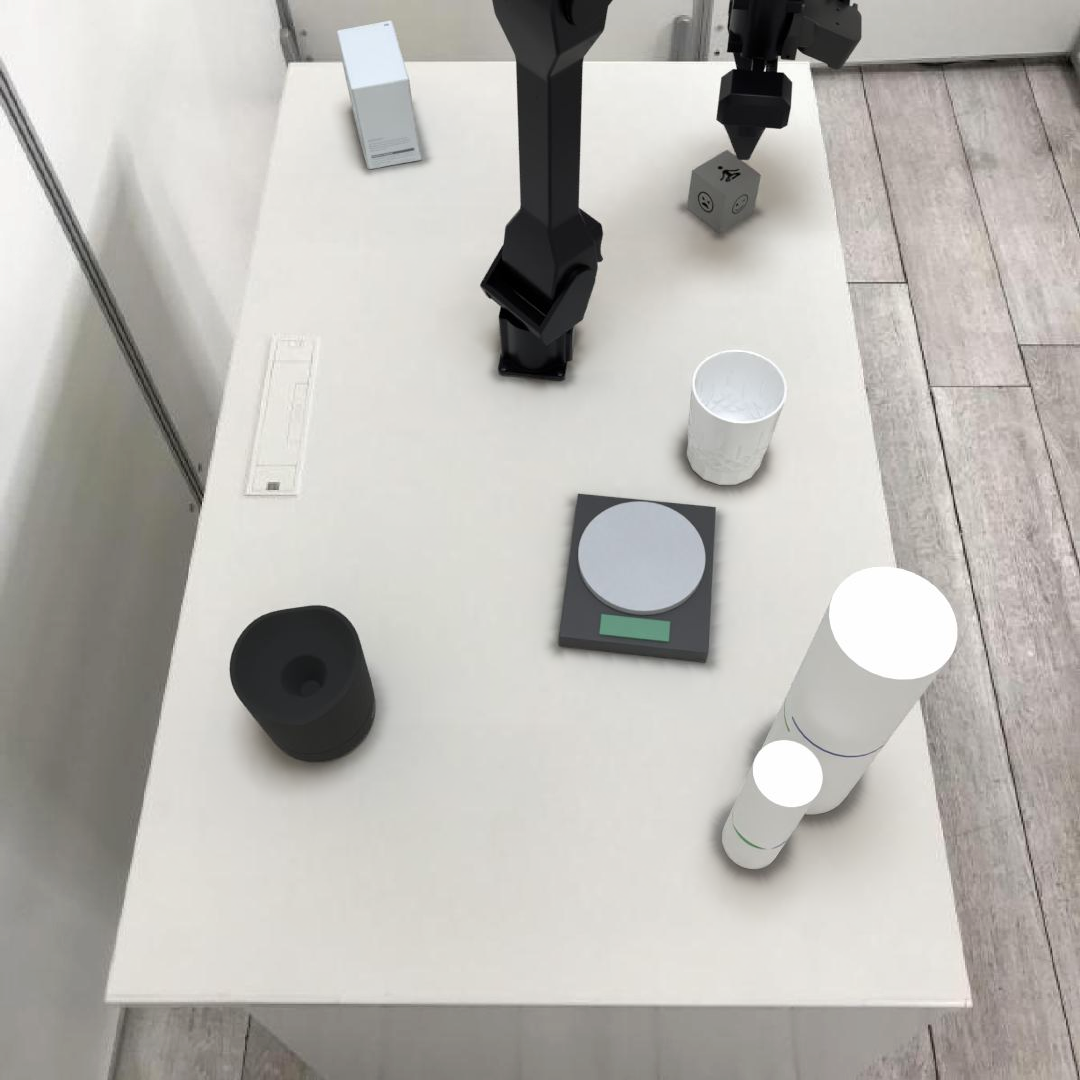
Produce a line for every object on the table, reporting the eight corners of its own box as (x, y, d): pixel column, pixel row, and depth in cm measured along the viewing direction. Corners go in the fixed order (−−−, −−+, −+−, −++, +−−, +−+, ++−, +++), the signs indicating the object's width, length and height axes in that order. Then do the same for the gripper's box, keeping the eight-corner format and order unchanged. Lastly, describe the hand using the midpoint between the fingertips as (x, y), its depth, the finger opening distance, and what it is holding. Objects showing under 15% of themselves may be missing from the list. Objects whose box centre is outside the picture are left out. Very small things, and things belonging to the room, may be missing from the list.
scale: (558, 646, 87) (558, 632, 85) (577, 504, 95) (578, 487, 92) (705, 662, 86) (709, 648, 84) (713, 517, 94) (717, 501, 91)
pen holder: (332, 791, 81) (306, 745, 73) (238, 730, 84) (202, 679, 76) (404, 694, 85) (387, 639, 77) (312, 638, 88) (285, 580, 80)
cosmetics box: (351, 112, 123) (335, 27, 114) (406, 103, 124) (394, 18, 115) (365, 171, 118) (349, 87, 109) (422, 161, 119) (411, 77, 110)
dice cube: (719, 233, 112) (725, 196, 108) (686, 208, 114) (691, 170, 110) (753, 212, 113) (761, 174, 109) (720, 187, 116) (727, 149, 111)
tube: (717, 813, 80) (747, 743, 67) (773, 808, 80) (814, 737, 67) (727, 871, 78) (760, 810, 65) (785, 866, 78) (829, 803, 65)
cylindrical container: (793, 831, 79) (880, 700, 58) (740, 749, 83) (804, 598, 61) (871, 787, 81) (984, 645, 59) (816, 709, 84) (904, 548, 63)
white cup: (762, 498, 95) (783, 429, 86) (674, 484, 96) (686, 415, 87) (771, 428, 99) (791, 356, 90) (686, 415, 100) (698, 343, 91)
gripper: (867, 47, 85) (828, 200, 98) (868, -85, 94) (831, 72, 108) (727, 37, 86) (706, 190, 99) (741, -92, 95) (720, 64, 109)
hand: (746, 126), depth 104 cm, fingers open, 9 cm apart
